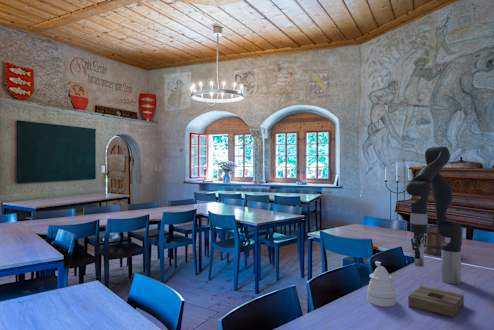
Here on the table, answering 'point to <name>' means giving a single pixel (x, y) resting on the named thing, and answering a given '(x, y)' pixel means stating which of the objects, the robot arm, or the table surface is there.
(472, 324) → the table surface
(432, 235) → the tankard
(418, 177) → the robot arm
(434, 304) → the socket block
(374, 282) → the honey pot
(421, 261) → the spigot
